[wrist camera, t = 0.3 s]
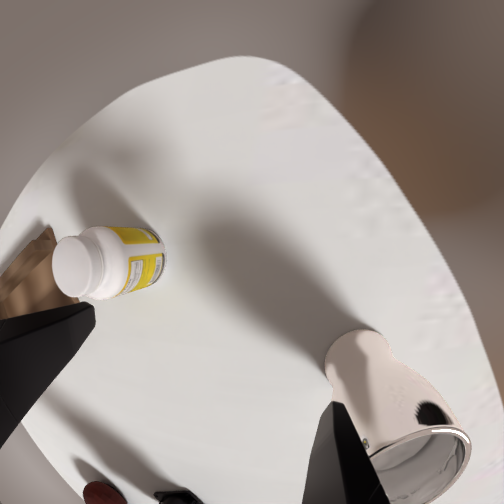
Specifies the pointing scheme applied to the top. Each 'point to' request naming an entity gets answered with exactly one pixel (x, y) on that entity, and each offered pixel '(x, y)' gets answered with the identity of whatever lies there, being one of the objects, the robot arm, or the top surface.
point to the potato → (101, 494)
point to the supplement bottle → (108, 262)
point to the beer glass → (397, 418)
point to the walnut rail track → (32, 280)
